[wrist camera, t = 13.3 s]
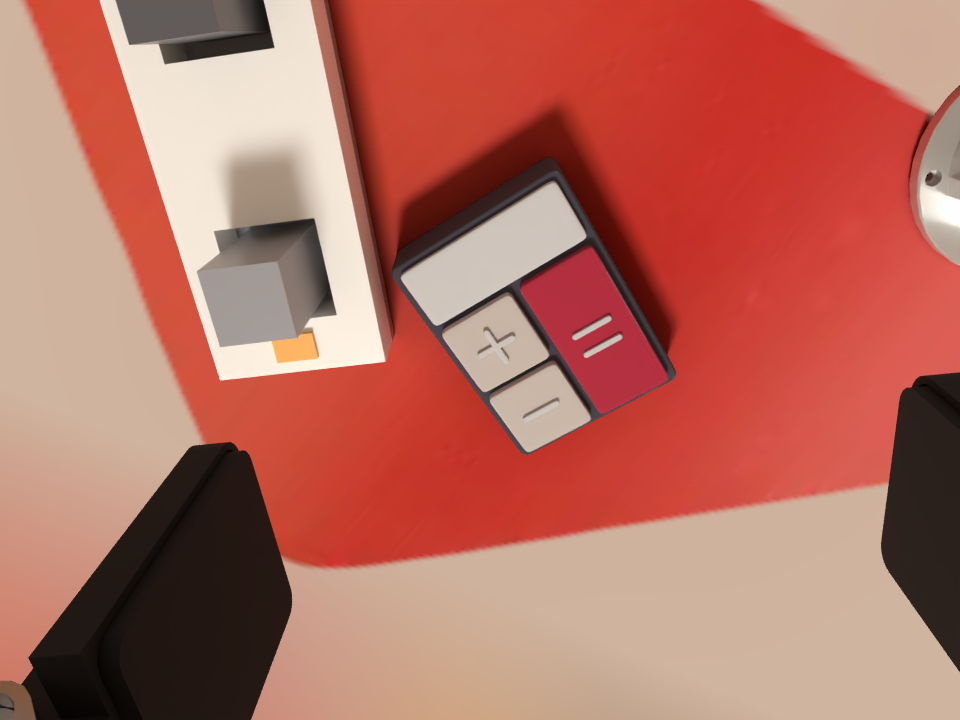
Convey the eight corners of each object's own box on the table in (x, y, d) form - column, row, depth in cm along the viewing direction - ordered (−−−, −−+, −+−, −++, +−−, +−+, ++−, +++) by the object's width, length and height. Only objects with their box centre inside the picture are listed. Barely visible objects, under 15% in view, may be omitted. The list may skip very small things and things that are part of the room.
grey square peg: (316, 221, 41) (277, 261, 34) (331, 286, 43) (297, 338, 36) (249, 229, 41) (196, 271, 34) (266, 294, 43) (220, 347, 36)
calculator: (524, 465, 45) (385, 277, 39) (520, 428, 49) (393, 252, 43) (682, 383, 43) (559, 169, 37) (665, 351, 46) (551, 152, 41)
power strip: (296, -157, 34) (270, -181, 31) (394, 335, 45) (384, 363, 41) (100, -123, 35) (50, -143, 31) (242, 352, 46) (218, 382, 42)
